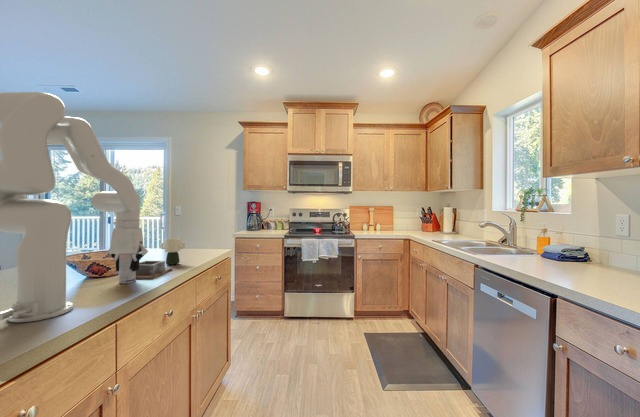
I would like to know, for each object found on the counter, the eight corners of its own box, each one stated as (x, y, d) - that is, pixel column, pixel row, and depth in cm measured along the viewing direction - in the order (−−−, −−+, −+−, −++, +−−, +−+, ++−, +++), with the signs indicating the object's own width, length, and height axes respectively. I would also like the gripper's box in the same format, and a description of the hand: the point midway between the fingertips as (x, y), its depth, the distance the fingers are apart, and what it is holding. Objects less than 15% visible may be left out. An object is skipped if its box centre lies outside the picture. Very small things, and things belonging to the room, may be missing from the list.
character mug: (186, 262, 142) (186, 238, 142) (182, 265, 135) (182, 239, 135) (163, 263, 140) (163, 238, 140) (158, 266, 133) (158, 240, 133)
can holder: (151, 279, 110) (151, 267, 110) (121, 279, 110) (121, 266, 109) (172, 270, 126) (172, 259, 126) (146, 269, 125) (146, 259, 125)
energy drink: (139, 280, 108) (139, 250, 108) (128, 284, 103) (128, 252, 103) (126, 279, 109) (127, 250, 108) (115, 283, 103) (115, 252, 103)
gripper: (98, 224, 102) (97, 272, 102) (144, 225, 102) (143, 273, 102) (112, 223, 109) (112, 268, 109) (155, 224, 109) (155, 268, 110)
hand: (127, 270), depth 106 cm, fingers closed on energy drink, 5 cm apart
